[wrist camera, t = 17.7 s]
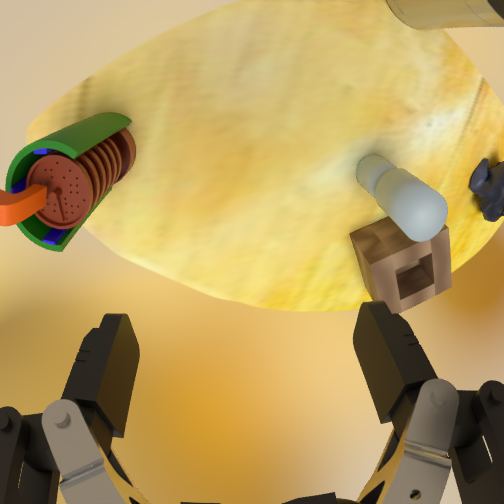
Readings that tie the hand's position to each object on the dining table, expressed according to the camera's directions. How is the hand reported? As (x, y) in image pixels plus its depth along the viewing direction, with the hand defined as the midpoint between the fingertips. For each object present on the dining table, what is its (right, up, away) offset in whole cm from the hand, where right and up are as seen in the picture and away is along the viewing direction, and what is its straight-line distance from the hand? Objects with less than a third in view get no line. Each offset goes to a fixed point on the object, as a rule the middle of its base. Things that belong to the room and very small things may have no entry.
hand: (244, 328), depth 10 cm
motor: (-18, +15, +25) cm, 35 cm away
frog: (+39, +14, +30) cm, 51 cm away
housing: (+22, +3, +35) cm, 41 cm away
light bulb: (+16, +13, +28) cm, 35 cm away
